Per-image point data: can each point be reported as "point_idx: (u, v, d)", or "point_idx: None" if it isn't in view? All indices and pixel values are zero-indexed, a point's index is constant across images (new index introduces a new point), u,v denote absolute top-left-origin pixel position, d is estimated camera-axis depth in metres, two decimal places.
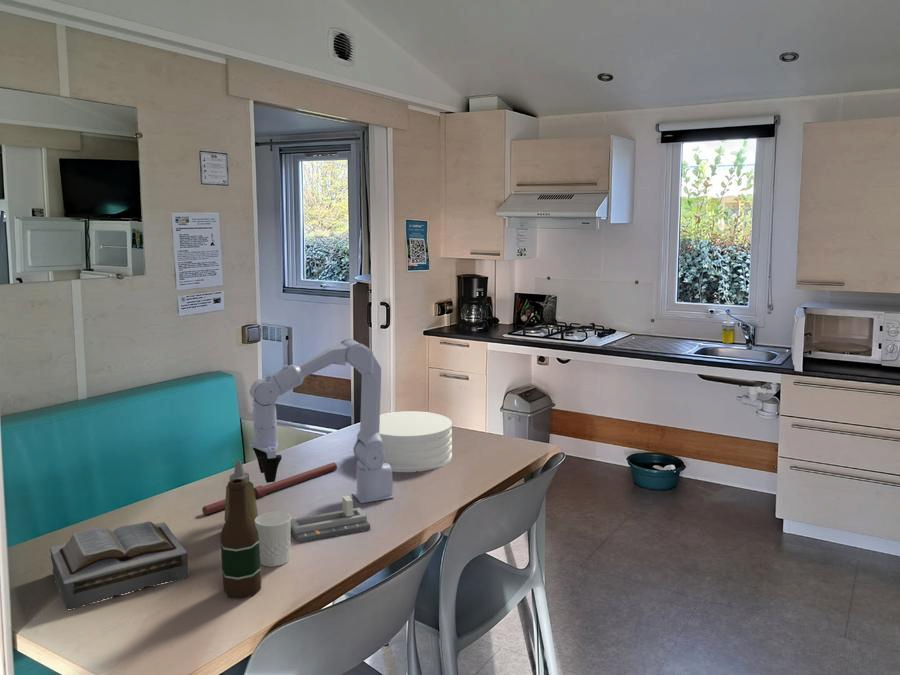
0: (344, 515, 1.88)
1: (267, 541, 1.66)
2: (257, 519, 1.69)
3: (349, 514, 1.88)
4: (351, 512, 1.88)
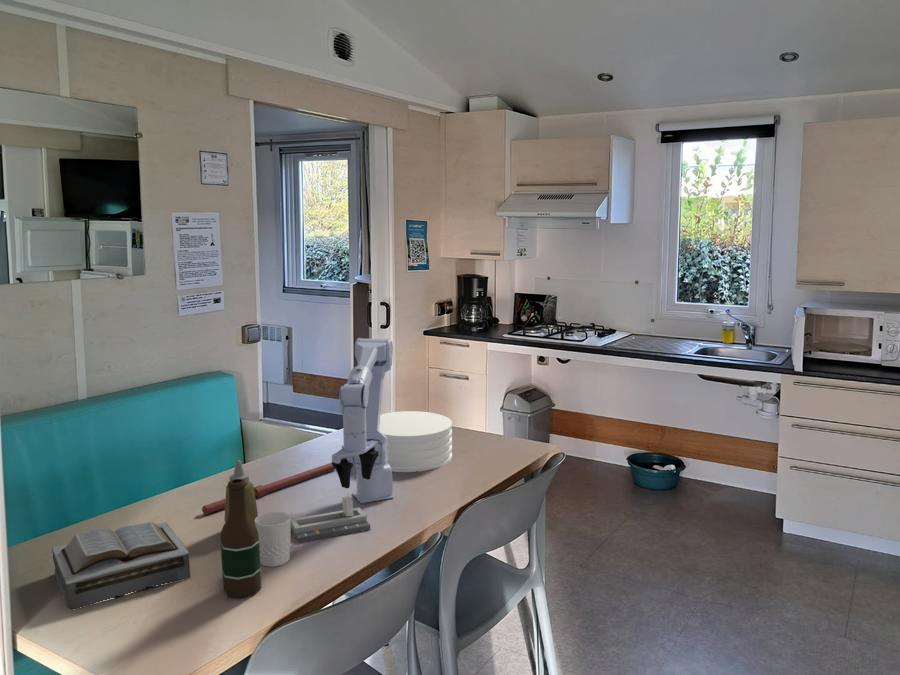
0: (344, 515, 1.88)
1: (267, 541, 1.66)
2: (257, 519, 1.69)
3: (349, 514, 1.88)
4: (351, 512, 1.88)
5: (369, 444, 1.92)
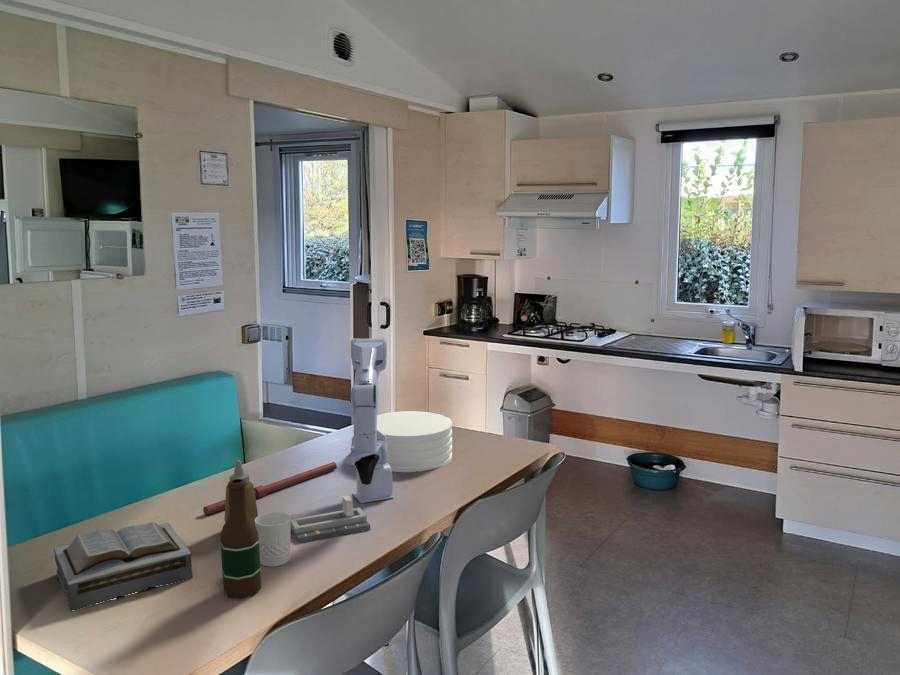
0: (344, 515, 1.88)
1: (267, 541, 1.66)
2: (257, 519, 1.69)
3: (349, 514, 1.88)
4: (351, 512, 1.88)
5: (377, 444, 1.92)
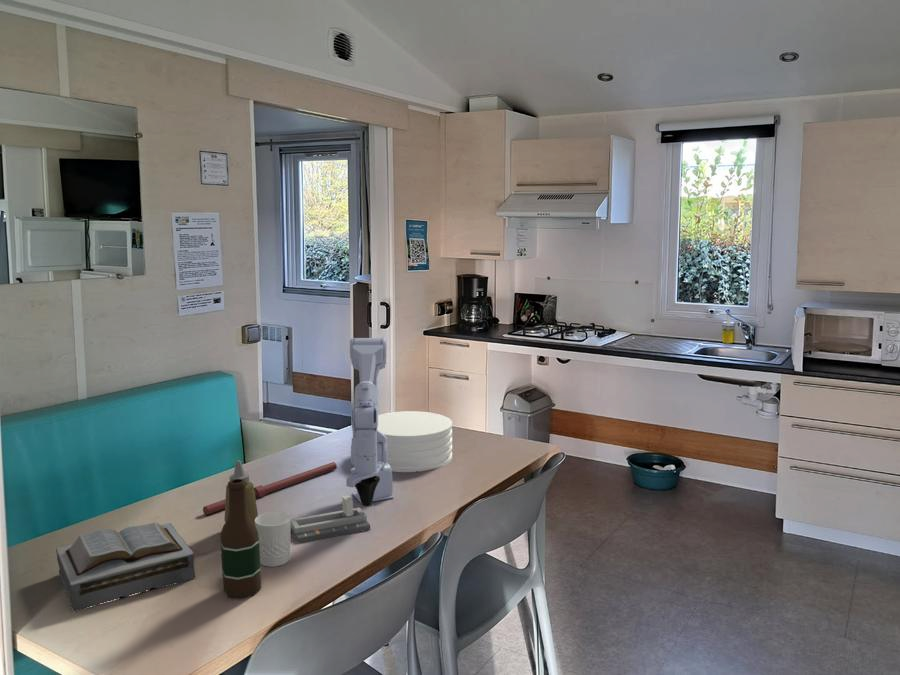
0: (344, 515, 1.88)
1: (267, 541, 1.66)
2: (257, 519, 1.69)
3: (349, 514, 1.88)
4: (351, 512, 1.88)
5: (377, 466, 1.93)
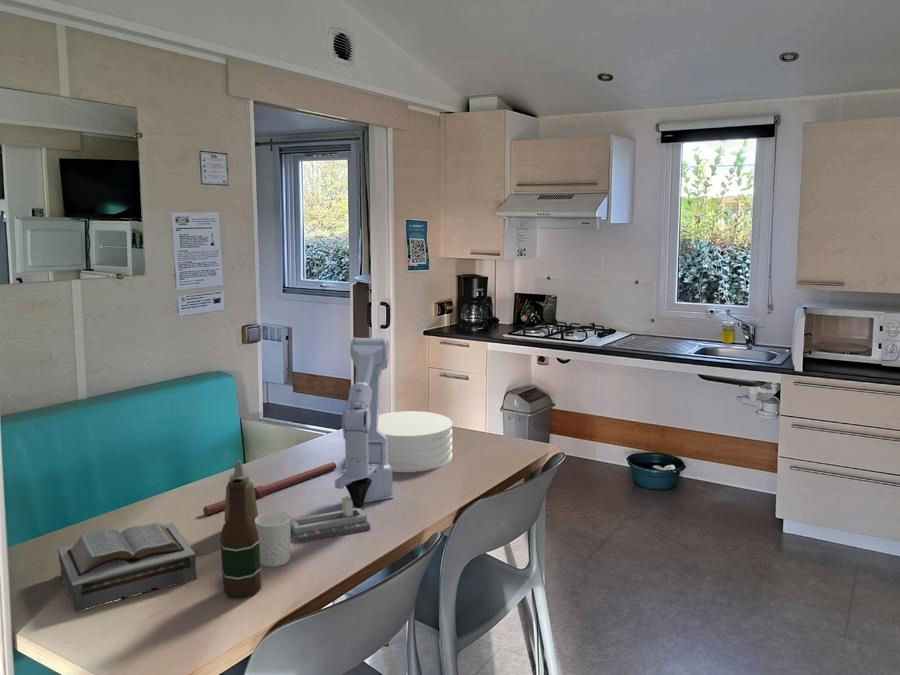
0: (344, 515, 1.88)
1: (267, 541, 1.66)
2: (257, 519, 1.69)
3: (349, 514, 1.88)
4: (351, 512, 1.88)
5: (371, 468, 1.92)
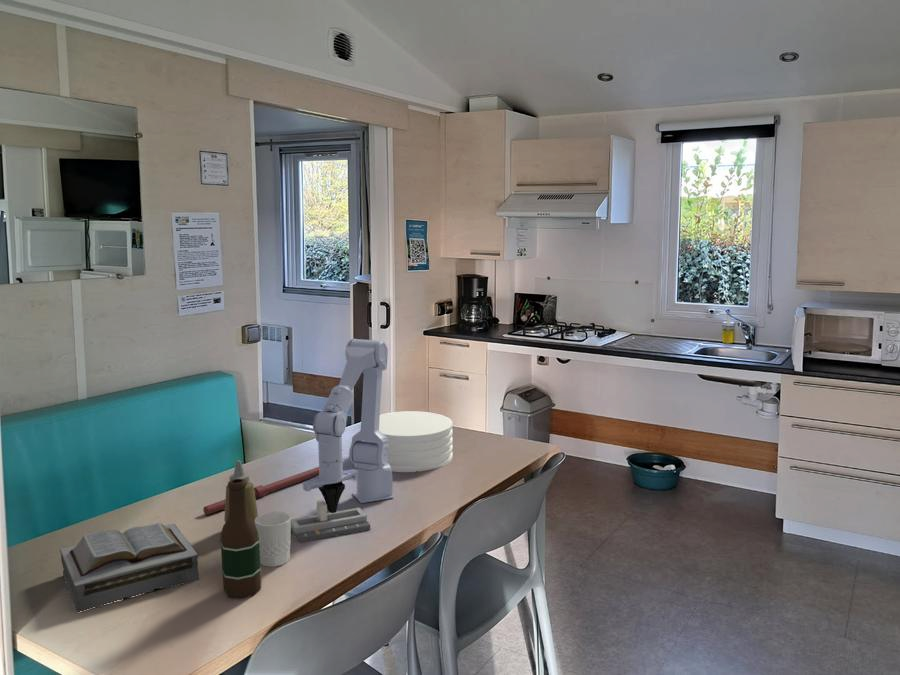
0: (318, 520, 1.85)
1: (267, 541, 1.66)
2: (257, 519, 1.69)
3: (323, 519, 1.85)
4: (325, 517, 1.85)
5: (348, 473, 1.88)
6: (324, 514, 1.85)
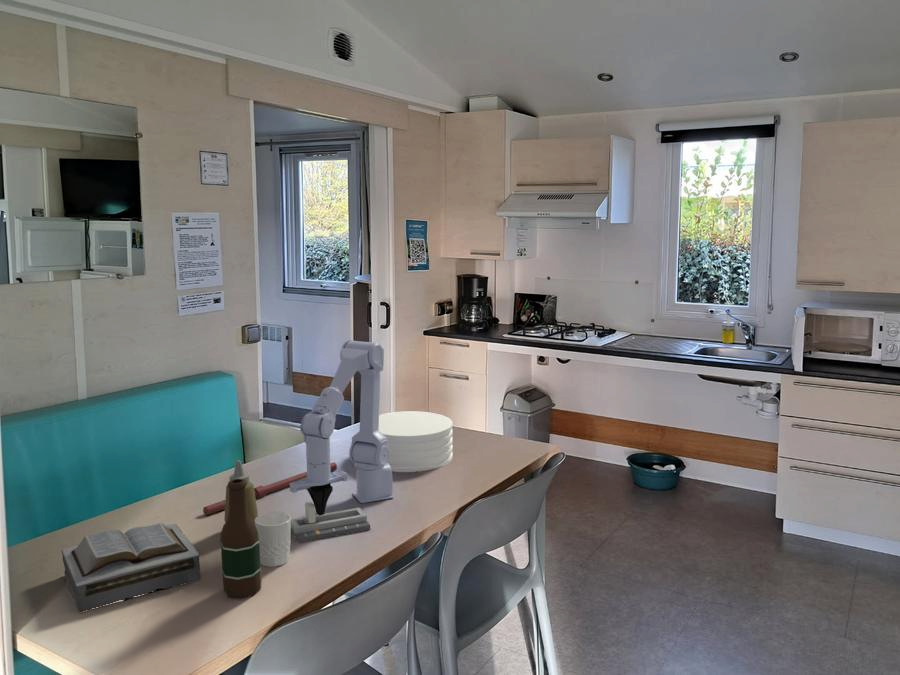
0: (306, 522, 1.84)
1: (267, 541, 1.66)
2: (257, 519, 1.69)
3: (311, 521, 1.84)
4: (313, 519, 1.84)
5: (337, 475, 1.87)
6: (312, 516, 1.84)
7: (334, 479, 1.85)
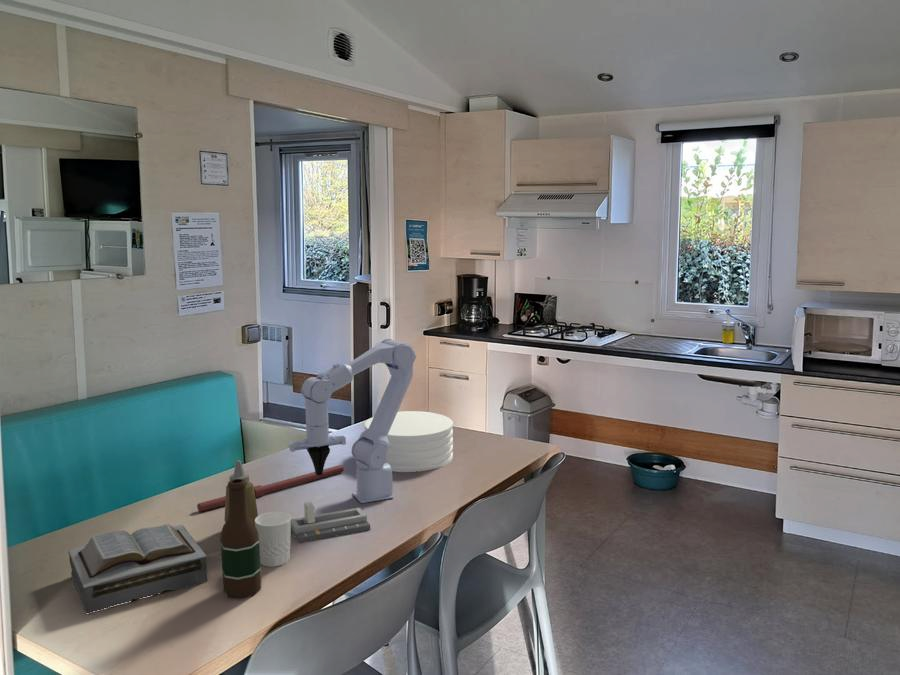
0: (306, 522, 1.84)
1: (267, 541, 1.66)
2: (257, 519, 1.69)
3: (311, 521, 1.84)
4: (313, 519, 1.84)
5: (335, 439, 1.97)
6: (311, 516, 1.83)
7: (331, 442, 1.95)
